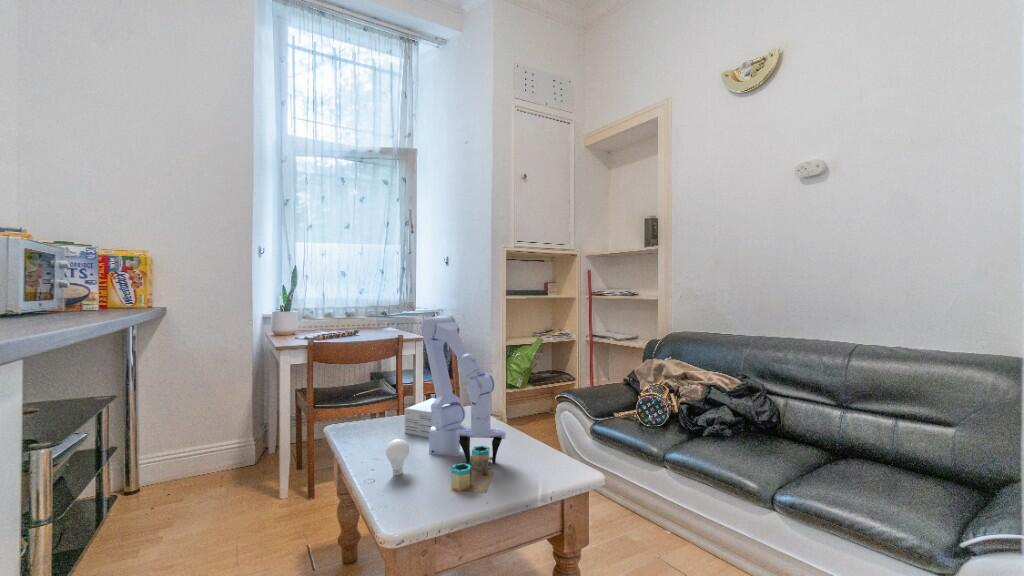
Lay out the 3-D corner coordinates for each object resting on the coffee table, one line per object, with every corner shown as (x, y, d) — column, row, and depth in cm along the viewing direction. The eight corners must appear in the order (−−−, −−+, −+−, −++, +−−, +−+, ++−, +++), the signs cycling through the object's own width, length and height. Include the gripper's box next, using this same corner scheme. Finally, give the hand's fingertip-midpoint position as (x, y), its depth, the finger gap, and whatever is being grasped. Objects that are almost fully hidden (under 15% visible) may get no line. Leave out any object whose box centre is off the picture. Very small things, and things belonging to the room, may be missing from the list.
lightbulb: (397, 485, 118) (396, 445, 118) (380, 480, 121) (380, 440, 121) (414, 476, 123) (413, 437, 123) (398, 471, 126) (397, 433, 126)
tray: (466, 473, 125) (466, 467, 125) (471, 462, 133) (471, 456, 133) (490, 474, 125) (490, 467, 124) (494, 462, 132) (494, 456, 132)
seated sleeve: (449, 490, 111) (449, 471, 111) (454, 481, 117) (454, 462, 117) (468, 491, 111) (468, 472, 111) (472, 481, 116) (472, 463, 116)
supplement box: (434, 439, 154) (434, 412, 154) (404, 433, 159) (404, 408, 159) (459, 424, 169) (459, 400, 169) (431, 420, 175) (431, 397, 174)
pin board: (451, 496, 111) (451, 475, 111) (462, 474, 124) (462, 455, 124) (486, 498, 110) (486, 476, 110) (493, 475, 123) (493, 456, 123)
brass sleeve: (471, 469, 126) (471, 452, 126) (474, 461, 132) (474, 445, 132) (487, 470, 126) (487, 452, 126) (490, 462, 131) (490, 445, 131)
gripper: (453, 419, 125) (453, 466, 126) (503, 420, 124) (503, 468, 124) (458, 412, 132) (459, 457, 133) (506, 413, 131) (506, 458, 131)
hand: (481, 462), depth 129 cm, fingers open, 7 cm apart
